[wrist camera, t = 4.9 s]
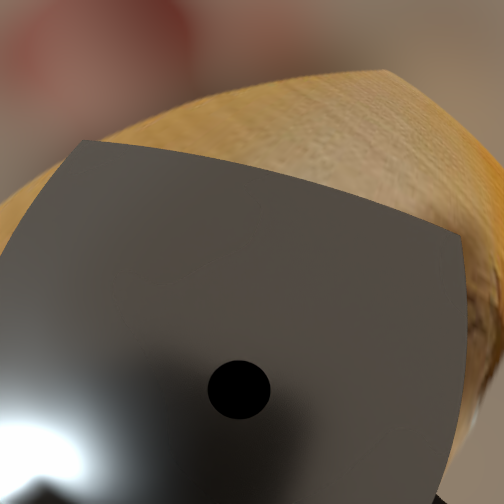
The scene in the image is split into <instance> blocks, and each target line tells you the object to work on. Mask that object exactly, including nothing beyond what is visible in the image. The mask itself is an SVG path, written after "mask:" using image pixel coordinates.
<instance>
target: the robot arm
mask: <svg viewBox="0 0 504 504" xmlns="http://www.w3.org/2000/svg"><path fill="white" fill-rule="evenodd" d="M432 504H447V503H445V502H444V501H443V500H442V499H441V498H440V497H439V496H438V495H437V494H436V495H435V497H434V500H433V502H432Z"/></svg>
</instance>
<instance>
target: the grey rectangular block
mask: <svg viewBox="0 0 504 504" xmlns="http://www.w3.org/2000/svg"><path fill="white" fill-rule="evenodd" d="M466 353H467V291H466V277H465V267H464V258H463V251H462V244H461V237H460V235H458V234H455V233H453V232H451V231H448V230H446V229H444V228H441V227H439V226H437V225H434V224H432V223H429V222H427V221H424V220H422V219H419V218H417V217H414V216H412V215H409V214H407V213H404V212H401V211H399V210H396V209H393V208H390V207H388V206H385V205H382V204H379V203H376V202H374V201H371V200H368V199H365V198H362V197H359V196H356V195H353V194H350V193H346V192H343V191H340V190H337V189H334V188H330V187H327V186H324V185H320V184H317V183H313V182H310V181H306V180H303V179H299V178H295V177H292V176H288V175H284V174H280V173H276V172H272V171H268V170H264V169H260V168H256V167H252V166H247V165H243V164H239V163H234V162H229V161H225V160H220V159H215V158H210V157H205V156H199V155H194V154H188V153H183V152H177V151H171V150H164V149H158V148H151V147H144V146H136V145H128V144H120V143H111V142H101V141H89V140H82V141H81V143H80V144H79V145H78V146H77V147H76V148H75V149H74V150H73V151H72V152H71V154H70V155H69V156H68V157H67V158H66V159H65V161H64V162H63V163H62V164H61V165H60V167H59V168H58V169H57V170H56V172H55V173H54V174H53V175H52V177H51V178H50V179H49V181H48V182H47V183H46V184H45V186H44V187H43V189H42V190H41V191H40V193H39V194H38V195H37V197H36V198H35V200H34V201H33V203H32V204H31V206H30V207H29V209H28V210H27V212H26V213H25V215H24V216H23V218H22V219H21V221H20V223H19V224H18V226H17V228H16V229H15V231H14V233H13V234H12V236H11V238H10V240H9V241H8V243H7V245H6V247H5V249H4V250H3V252H2V254H1V256H0V504H432V502H433V500H434V497H435V495H436V492H437V490H438V487H439V484H440V482H441V479H442V476H443V473H444V470H445V467H446V464H447V461H448V457H449V454H450V450H451V447H452V443H453V439H454V435H455V431H456V426H457V421H458V416H459V411H460V405H461V399H462V393H463V385H464V377H465V367H466Z"/></svg>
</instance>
